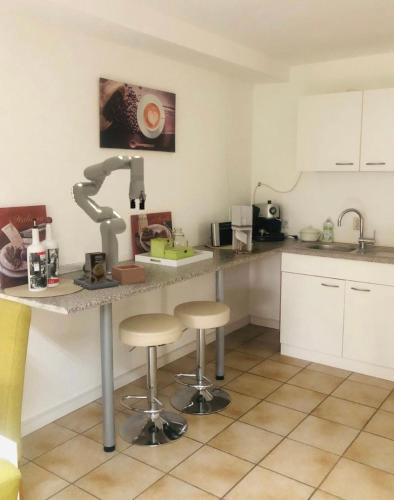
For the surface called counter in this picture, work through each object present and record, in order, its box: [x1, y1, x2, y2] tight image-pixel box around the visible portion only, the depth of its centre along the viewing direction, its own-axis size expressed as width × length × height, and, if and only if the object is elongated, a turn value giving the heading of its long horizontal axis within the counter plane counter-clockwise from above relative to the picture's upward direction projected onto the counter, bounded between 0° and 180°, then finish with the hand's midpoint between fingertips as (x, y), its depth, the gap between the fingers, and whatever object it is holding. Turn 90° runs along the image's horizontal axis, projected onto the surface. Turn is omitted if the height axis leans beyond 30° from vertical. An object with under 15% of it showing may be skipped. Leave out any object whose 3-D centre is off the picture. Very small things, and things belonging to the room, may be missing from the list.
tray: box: [73, 276, 120, 291], centre depth 261 cm, size 20×16×2 cm
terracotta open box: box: [111, 263, 146, 286], centre depth 270 cm, size 11×14×8 cm
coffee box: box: [84, 251, 107, 285], centre depth 261 cm, size 9×6×16 cm
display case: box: [230, 205, 253, 252], centre depth 370 cm, size 11×11×35 cm
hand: (137, 209), depth 280 cm, fingers open, 9 cm apart
